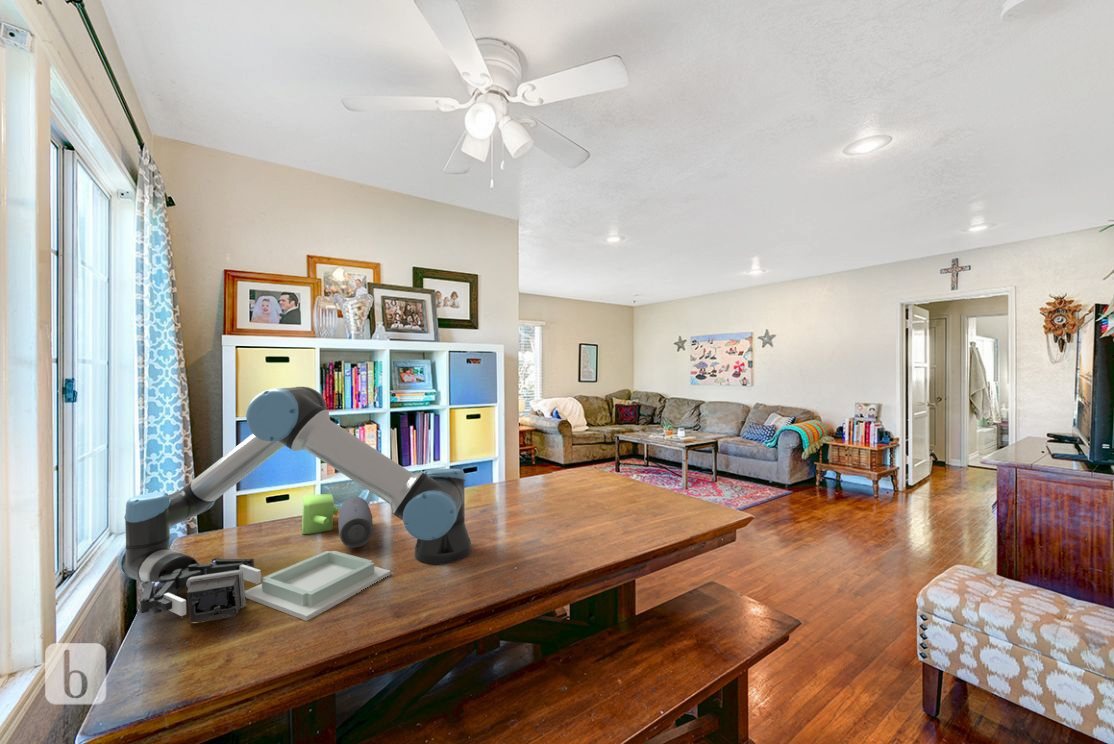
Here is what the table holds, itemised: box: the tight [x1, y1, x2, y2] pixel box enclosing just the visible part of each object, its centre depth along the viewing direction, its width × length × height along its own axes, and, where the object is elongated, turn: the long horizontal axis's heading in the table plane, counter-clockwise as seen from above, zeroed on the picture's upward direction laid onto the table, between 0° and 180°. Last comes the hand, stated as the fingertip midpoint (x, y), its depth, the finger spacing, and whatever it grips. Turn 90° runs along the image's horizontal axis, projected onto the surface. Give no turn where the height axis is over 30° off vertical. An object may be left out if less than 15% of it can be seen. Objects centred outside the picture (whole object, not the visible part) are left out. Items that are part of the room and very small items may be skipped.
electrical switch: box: [186, 570, 247, 623], centre depth 90 cm, size 9×5×9 cm, turn 113°
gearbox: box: [301, 493, 339, 535], centre depth 141 cm, size 18×10×10 cm, turn 30°
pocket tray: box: [245, 550, 392, 622], centre depth 104 cm, size 22×22×4 cm
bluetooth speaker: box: [337, 496, 374, 549], centre depth 132 cm, size 23×9×10 cm, turn 26°
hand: (224, 591), depth 89 cm, fingers open, 13 cm apart
